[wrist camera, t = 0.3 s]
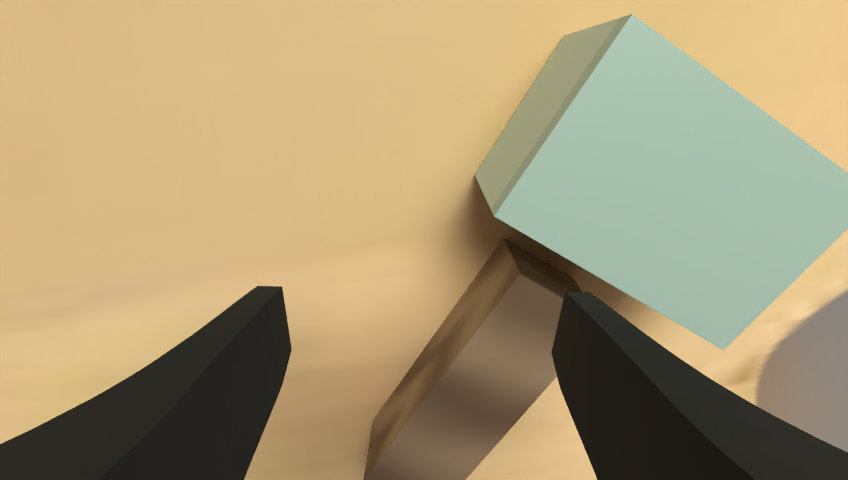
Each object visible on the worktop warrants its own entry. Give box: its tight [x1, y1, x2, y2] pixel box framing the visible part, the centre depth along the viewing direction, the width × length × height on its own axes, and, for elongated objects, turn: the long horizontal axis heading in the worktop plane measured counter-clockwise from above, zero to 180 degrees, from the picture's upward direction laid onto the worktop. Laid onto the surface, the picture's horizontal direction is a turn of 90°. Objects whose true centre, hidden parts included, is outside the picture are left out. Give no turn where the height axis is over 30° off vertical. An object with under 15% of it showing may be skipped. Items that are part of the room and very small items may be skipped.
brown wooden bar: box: [364, 238, 582, 480], centre depth 22 cm, size 14×4×4 cm, turn 149°
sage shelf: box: [475, 14, 848, 350], centre depth 17 cm, size 7×10×6 cm, turn 59°
